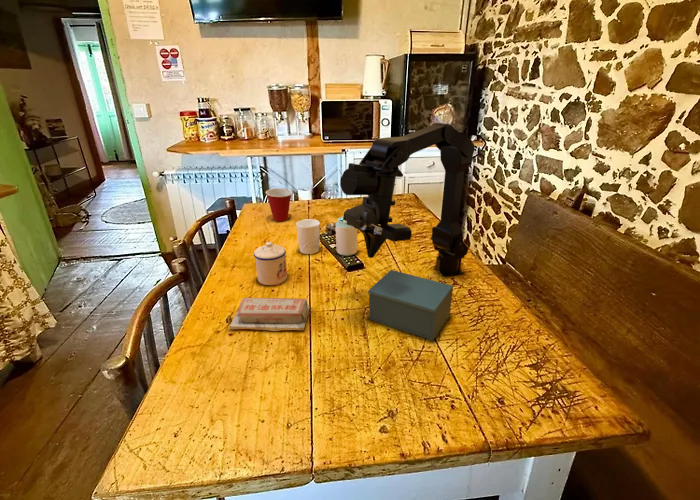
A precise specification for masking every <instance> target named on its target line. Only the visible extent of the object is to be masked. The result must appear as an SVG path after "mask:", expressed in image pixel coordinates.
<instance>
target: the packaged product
mask: <svg viewBox="0 0 700 500" xmlns="http://www.w3.org/2000/svg"><path fill="white" fill-rule="evenodd" d="M310 309H311V307H310V305H309V304H308V299H307V298H291V297H290V298H285V297H284V298H283V297H282V298H281V297H243V298H242V299H240V303H239V306H238V309H237V311H236V313H235V314H234V317H233V319H232V320H231V322H230V325H229V329H230V330H231V331H232V330H246V329H247V330H255V331H256V330H258V331H259V330H260V331H270V332H279V331H305V328H306V324H307V321H308V316H309V313H310Z"/></svg>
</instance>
